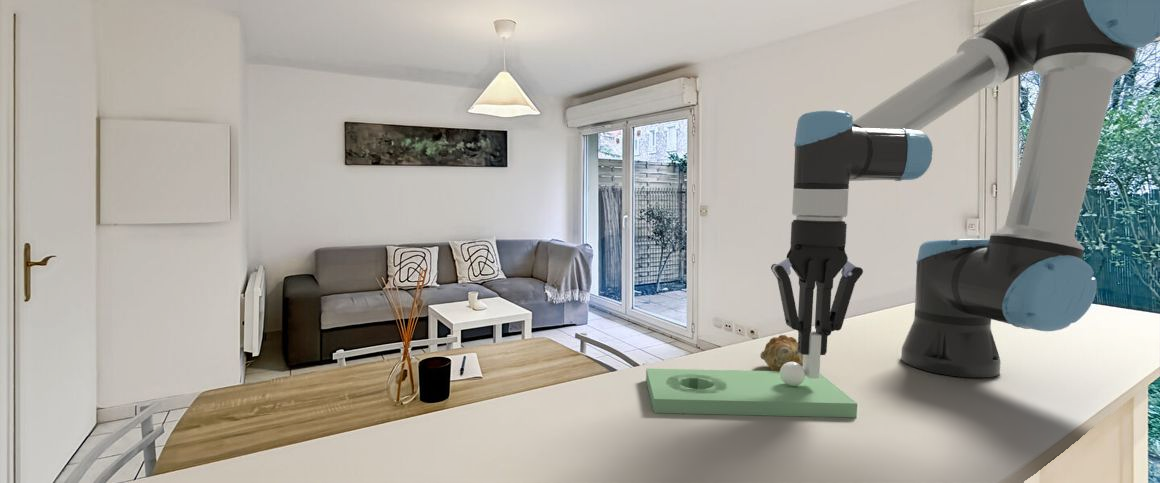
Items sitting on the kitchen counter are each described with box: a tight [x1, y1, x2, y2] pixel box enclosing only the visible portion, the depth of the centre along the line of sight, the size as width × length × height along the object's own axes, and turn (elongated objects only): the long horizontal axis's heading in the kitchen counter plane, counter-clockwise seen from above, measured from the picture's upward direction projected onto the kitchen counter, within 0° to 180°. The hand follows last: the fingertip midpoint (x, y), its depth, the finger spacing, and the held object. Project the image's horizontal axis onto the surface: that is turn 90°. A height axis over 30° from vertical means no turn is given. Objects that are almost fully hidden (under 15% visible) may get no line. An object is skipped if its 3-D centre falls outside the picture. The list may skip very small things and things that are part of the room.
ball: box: [780, 362, 805, 386], centre depth 86 cm, size 4×4×4 cm
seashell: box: [759, 334, 803, 371], centre depth 100 cm, size 9×8×10 cm
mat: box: [645, 368, 858, 418], centre depth 86 cm, size 28×14×2 cm, turn 88°
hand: (810, 375), depth 86 cm, fingers closed
